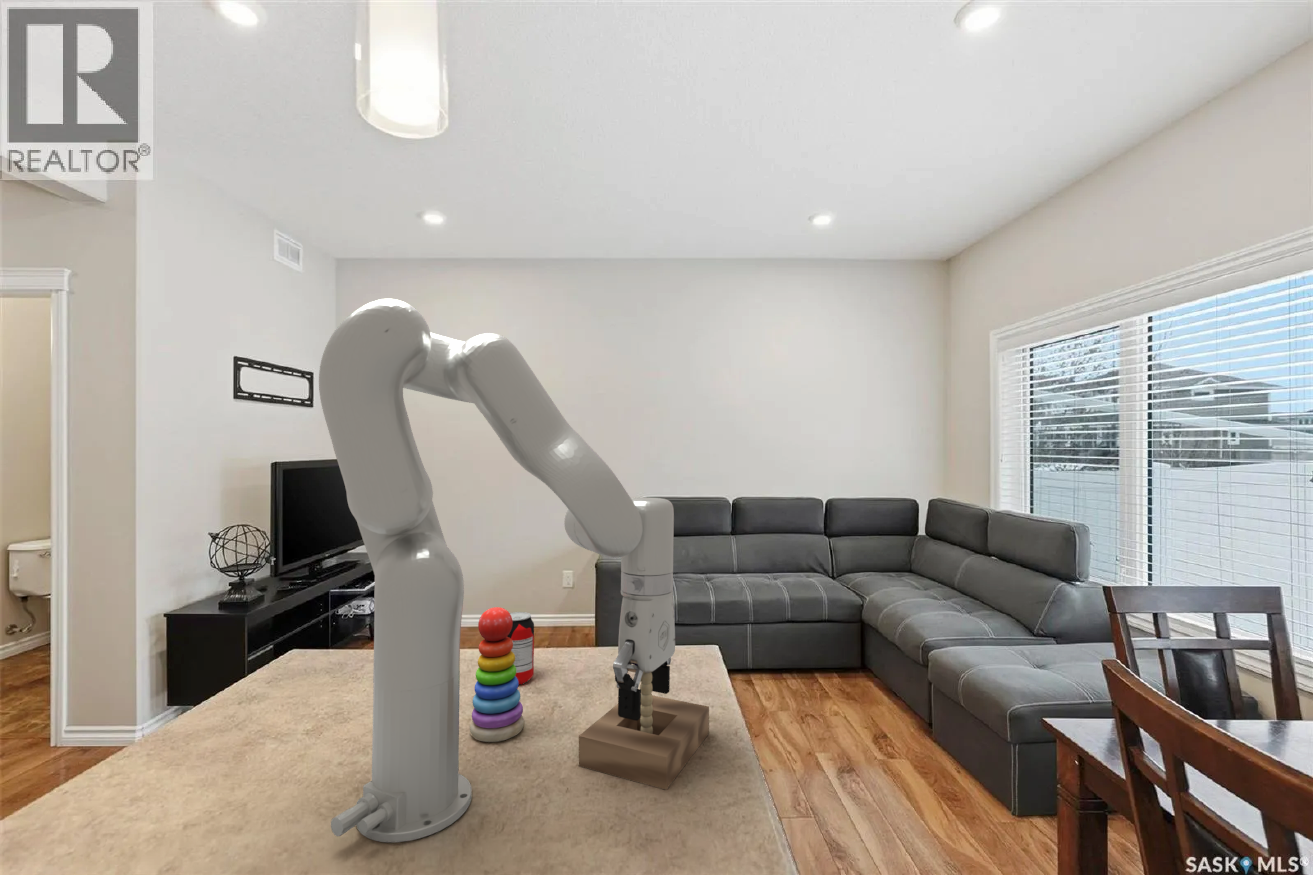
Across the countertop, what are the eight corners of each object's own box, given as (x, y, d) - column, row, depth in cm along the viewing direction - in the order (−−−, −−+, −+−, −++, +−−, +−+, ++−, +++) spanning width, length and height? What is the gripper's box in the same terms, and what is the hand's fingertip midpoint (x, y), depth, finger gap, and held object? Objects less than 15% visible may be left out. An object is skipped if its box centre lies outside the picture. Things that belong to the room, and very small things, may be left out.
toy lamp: (657, 761, 78) (658, 638, 78) (624, 757, 78) (625, 636, 79) (664, 743, 82) (664, 628, 83) (633, 740, 83) (634, 626, 84)
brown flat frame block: (666, 789, 71) (666, 757, 71) (578, 766, 76) (578, 735, 76) (709, 733, 85) (708, 706, 85) (632, 716, 91) (632, 691, 91)
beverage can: (532, 672, 109) (533, 610, 110) (534, 685, 103) (535, 619, 104) (498, 675, 108) (499, 612, 108) (498, 689, 102) (499, 621, 102)
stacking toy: (490, 716, 91) (492, 599, 92) (533, 724, 88) (535, 603, 89) (458, 739, 83) (460, 611, 84) (504, 748, 81) (505, 616, 81)
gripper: (643, 599, 72) (641, 736, 71) (692, 575, 88) (691, 687, 87) (593, 593, 75) (590, 723, 75) (649, 571, 91) (647, 679, 90)
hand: (644, 704), depth 81 cm, fingers open, 9 cm apart
